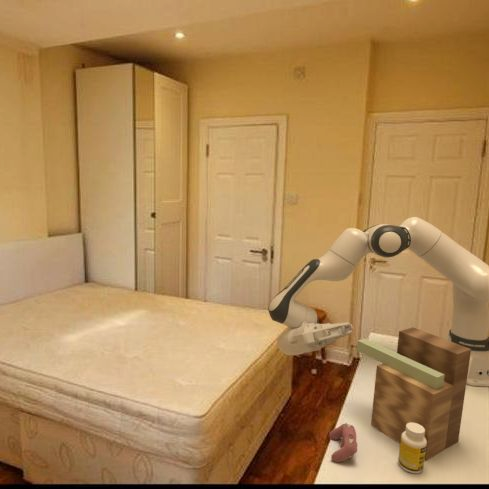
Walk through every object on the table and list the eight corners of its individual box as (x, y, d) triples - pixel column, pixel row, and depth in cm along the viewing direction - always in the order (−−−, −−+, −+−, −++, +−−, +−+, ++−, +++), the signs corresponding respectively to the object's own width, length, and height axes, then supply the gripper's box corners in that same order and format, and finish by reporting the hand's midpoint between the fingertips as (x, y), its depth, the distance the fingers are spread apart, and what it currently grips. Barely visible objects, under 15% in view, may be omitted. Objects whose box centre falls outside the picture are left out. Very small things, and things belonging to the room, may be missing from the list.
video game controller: (347, 471, 92) (363, 448, 90) (329, 460, 92) (345, 438, 91) (343, 443, 102) (357, 422, 100) (327, 434, 102) (341, 413, 100)
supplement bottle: (421, 478, 89) (426, 438, 87) (395, 468, 91) (400, 429, 90) (425, 463, 93) (429, 425, 91) (400, 454, 96) (404, 417, 94)
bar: (356, 350, 113) (357, 340, 113) (363, 348, 115) (364, 338, 114) (435, 389, 93) (437, 377, 93) (443, 386, 95) (444, 374, 94)
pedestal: (371, 424, 107) (379, 336, 103) (403, 409, 115) (412, 327, 111) (425, 460, 94) (437, 361, 90) (458, 441, 102) (471, 349, 97)
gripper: (284, 333, 127) (311, 325, 115) (330, 322, 138) (359, 314, 126) (289, 353, 125) (317, 347, 114) (336, 341, 136) (365, 334, 125)
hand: (340, 329), depth 120 cm, fingers open, 8 cm apart
